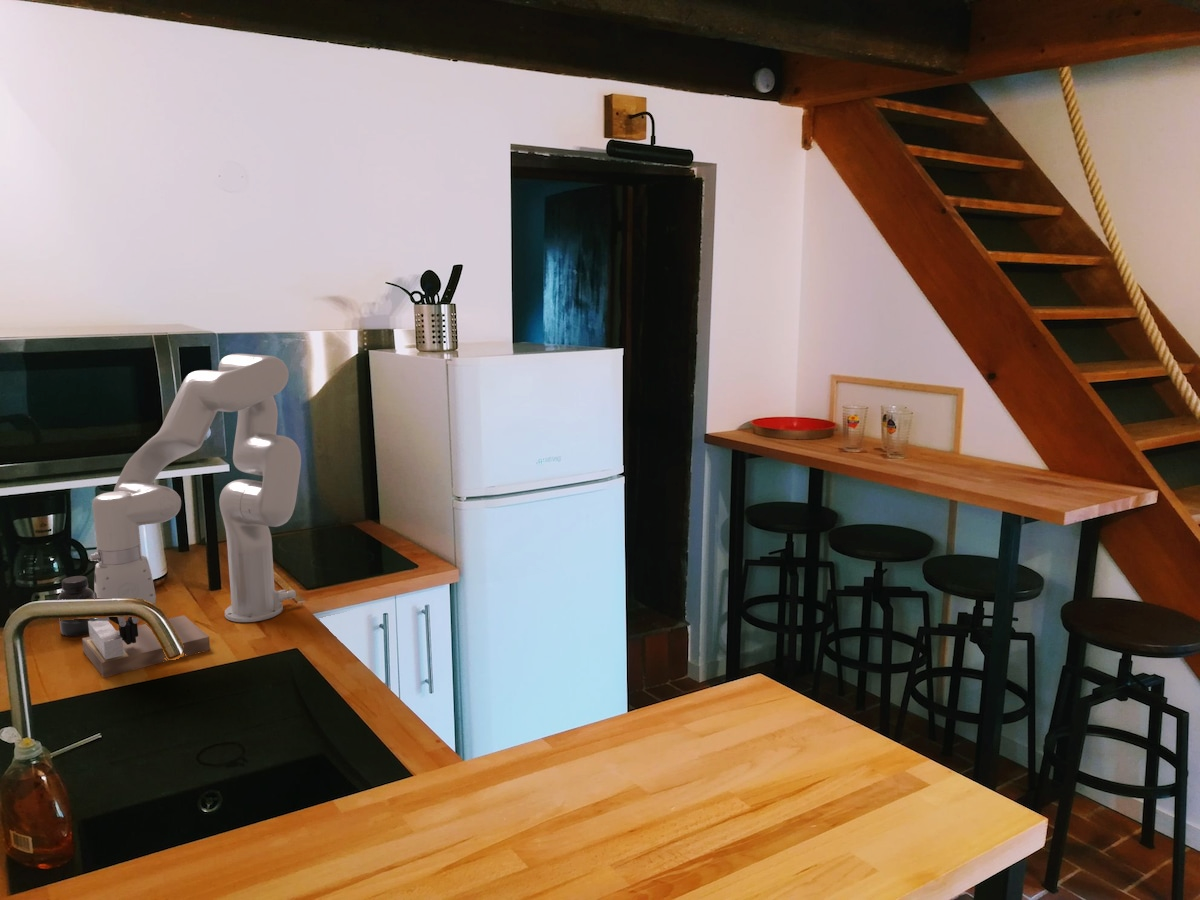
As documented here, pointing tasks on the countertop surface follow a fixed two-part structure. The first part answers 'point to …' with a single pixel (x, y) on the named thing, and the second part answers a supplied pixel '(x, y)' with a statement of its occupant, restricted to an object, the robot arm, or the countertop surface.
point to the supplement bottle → (75, 590)
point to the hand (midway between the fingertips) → (129, 641)
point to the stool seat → (147, 648)
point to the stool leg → (105, 638)
